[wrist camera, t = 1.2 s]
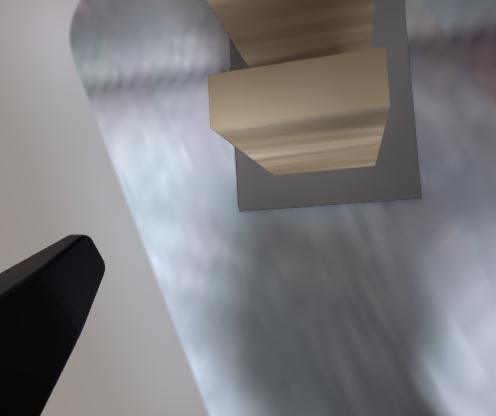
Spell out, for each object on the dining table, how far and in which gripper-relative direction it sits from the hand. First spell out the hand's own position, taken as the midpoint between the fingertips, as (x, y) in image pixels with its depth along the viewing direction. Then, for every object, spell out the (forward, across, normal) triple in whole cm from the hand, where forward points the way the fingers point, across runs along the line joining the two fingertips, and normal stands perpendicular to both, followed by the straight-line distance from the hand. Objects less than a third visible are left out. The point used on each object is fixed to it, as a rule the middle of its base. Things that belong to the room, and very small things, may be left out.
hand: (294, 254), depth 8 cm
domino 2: (+13, +2, +5) cm, 14 cm away
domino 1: (+16, +2, +2) cm, 16 cm away
